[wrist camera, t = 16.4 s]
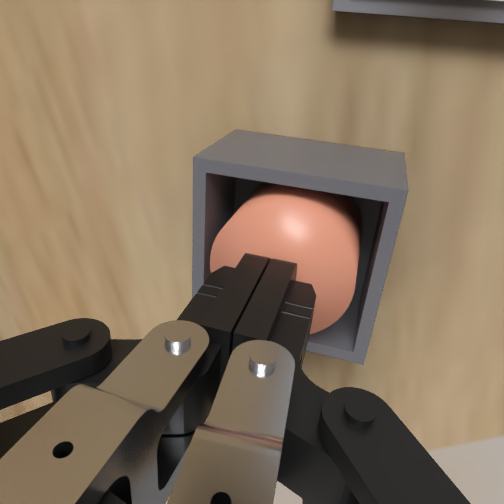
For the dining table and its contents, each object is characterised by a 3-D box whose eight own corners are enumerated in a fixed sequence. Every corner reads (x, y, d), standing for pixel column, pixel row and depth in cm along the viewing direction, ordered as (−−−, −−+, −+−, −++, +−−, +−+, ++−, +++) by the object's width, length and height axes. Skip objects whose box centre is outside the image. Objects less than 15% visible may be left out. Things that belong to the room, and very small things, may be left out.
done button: (239, 269, 17) (207, 318, 14) (246, 162, 15) (211, 193, 12) (350, 293, 16) (341, 350, 13) (374, 181, 14) (369, 221, 11)
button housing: (228, 269, 19) (192, 323, 15) (235, 129, 16) (193, 156, 12) (368, 299, 17) (363, 365, 14) (404, 152, 15) (408, 190, 11)
